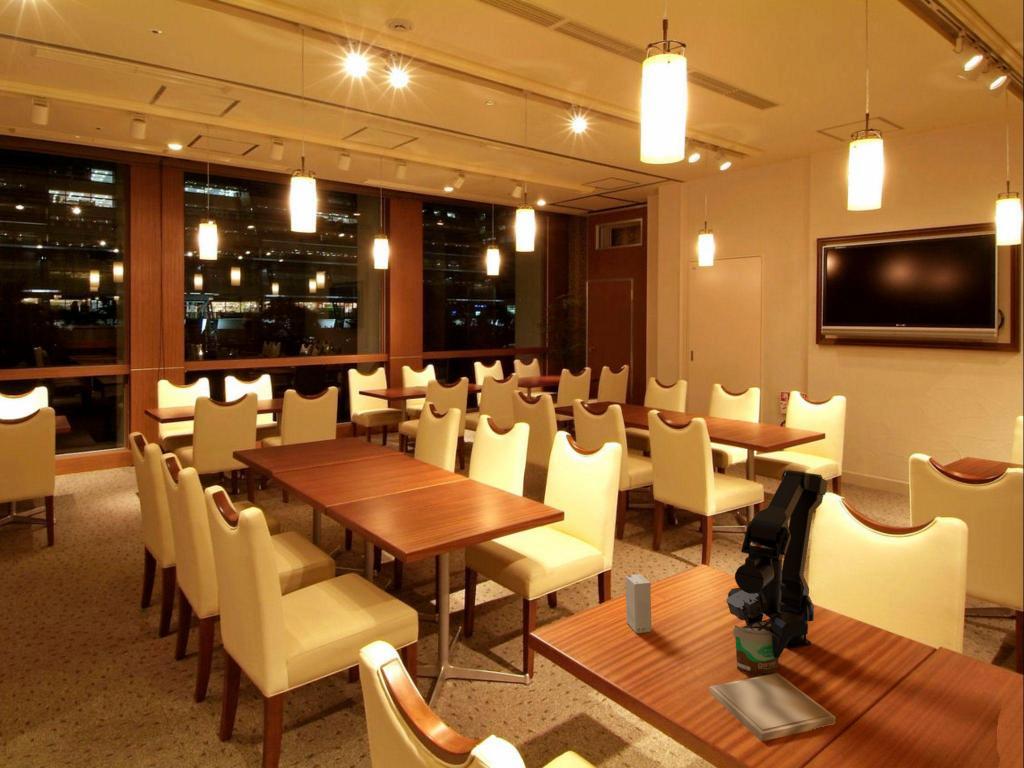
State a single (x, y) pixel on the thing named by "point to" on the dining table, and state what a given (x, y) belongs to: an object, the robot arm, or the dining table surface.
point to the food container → (755, 648)
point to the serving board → (771, 706)
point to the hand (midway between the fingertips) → (764, 649)
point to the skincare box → (638, 603)
